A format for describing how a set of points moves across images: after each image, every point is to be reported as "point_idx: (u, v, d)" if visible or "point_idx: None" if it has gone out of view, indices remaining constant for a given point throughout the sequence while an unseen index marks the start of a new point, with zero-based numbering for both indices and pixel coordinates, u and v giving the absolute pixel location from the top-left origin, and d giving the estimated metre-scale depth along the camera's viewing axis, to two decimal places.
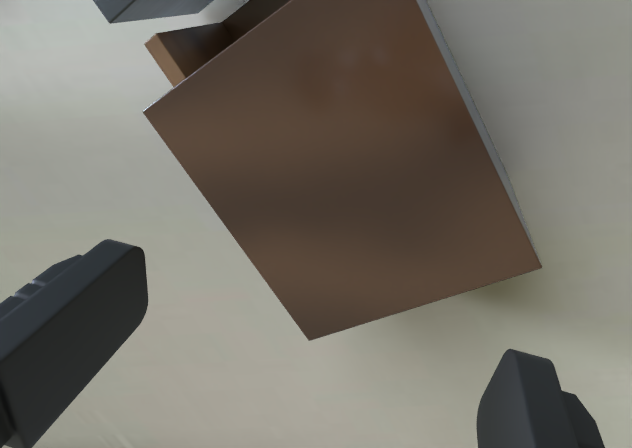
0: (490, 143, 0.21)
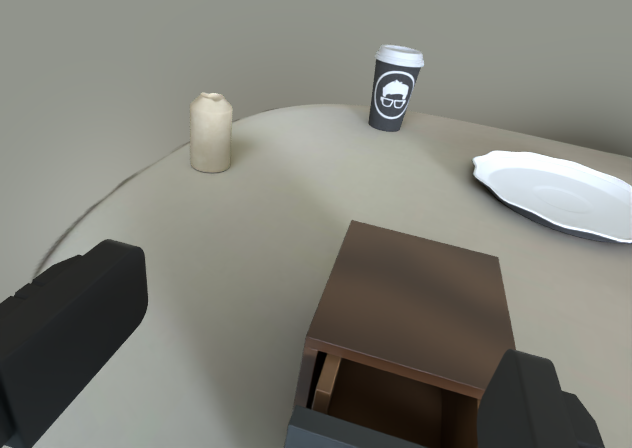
0: None
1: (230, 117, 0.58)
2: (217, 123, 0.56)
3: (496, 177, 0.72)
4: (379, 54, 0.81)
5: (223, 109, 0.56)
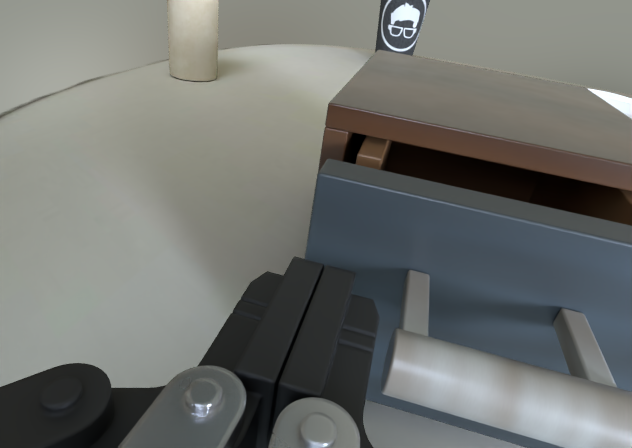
0: None
1: (216, 10, 0.48)
2: (200, 14, 0.47)
3: None
4: None
5: None
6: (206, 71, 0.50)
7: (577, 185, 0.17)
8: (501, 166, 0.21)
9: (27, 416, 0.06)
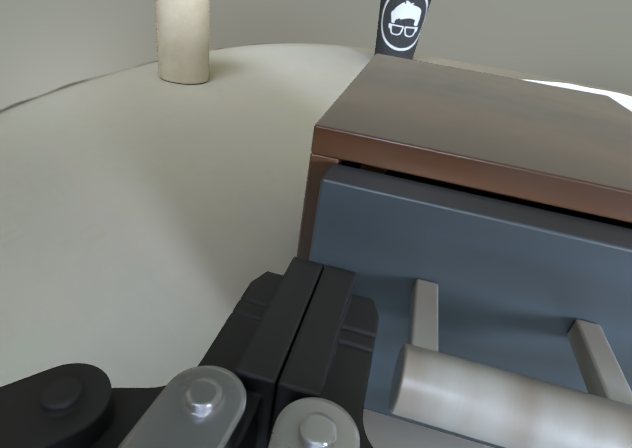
0: None
1: (206, 9, 0.46)
2: (189, 13, 0.44)
3: None
4: None
5: None
6: (197, 73, 0.48)
7: None
8: None
9: (28, 415, 0.06)
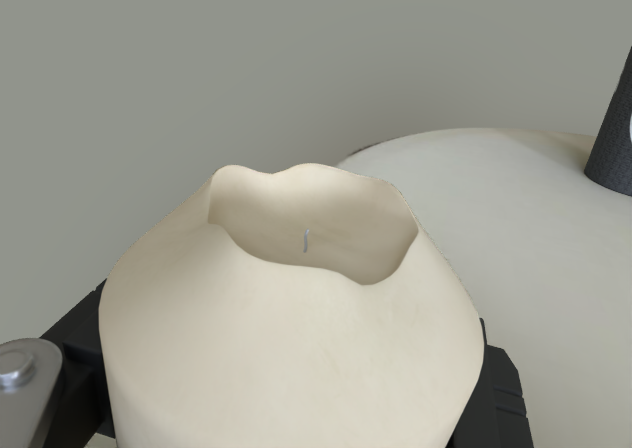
0: None
1: None
2: None
3: None
4: None
5: (456, 372, 0.05)
6: None
7: None
8: None
9: None
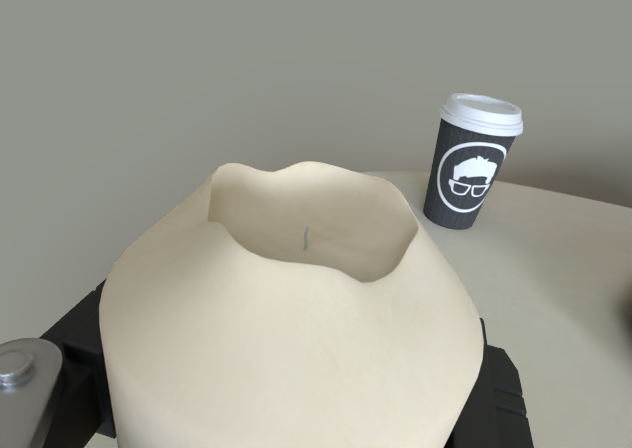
0: None
1: None
2: None
3: None
4: (450, 113, 0.48)
5: (455, 369, 0.05)
6: None
7: None
8: None
9: None
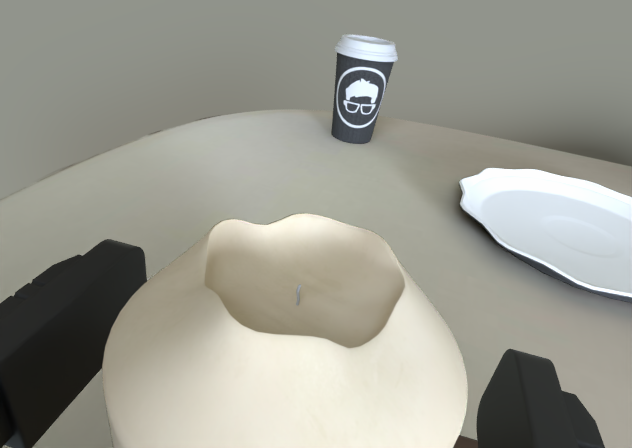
0: None
1: None
2: None
3: (491, 205, 0.55)
4: (340, 46, 0.63)
5: (438, 428, 0.05)
6: None
7: None
8: None
9: None
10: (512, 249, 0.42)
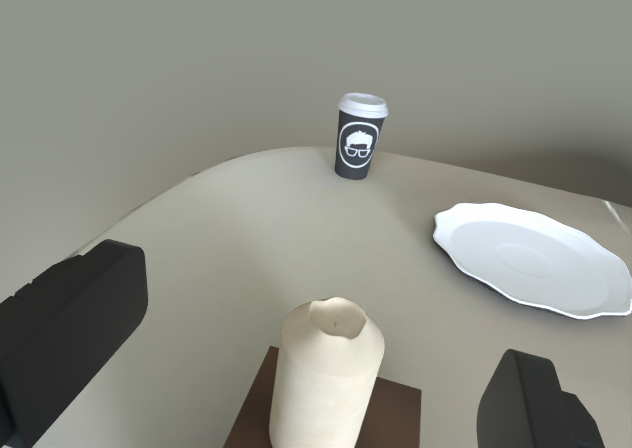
0: None
1: None
2: (356, 393, 0.22)
3: (459, 234, 0.71)
4: (342, 104, 0.79)
5: (372, 359, 0.22)
6: None
7: None
8: None
9: None
10: (467, 273, 0.58)
